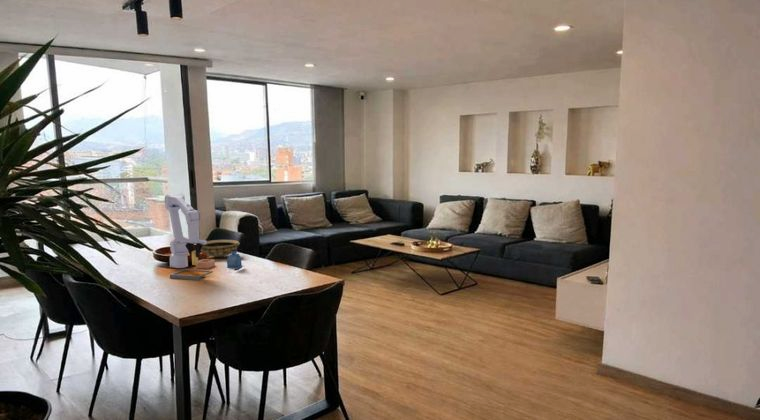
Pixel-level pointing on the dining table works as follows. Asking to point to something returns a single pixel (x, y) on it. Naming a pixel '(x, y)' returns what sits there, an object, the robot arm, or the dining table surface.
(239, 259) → the perfume bottle
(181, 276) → the tray
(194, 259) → the dowel
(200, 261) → the peach hollow square block
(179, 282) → the dining table surface
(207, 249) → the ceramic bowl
